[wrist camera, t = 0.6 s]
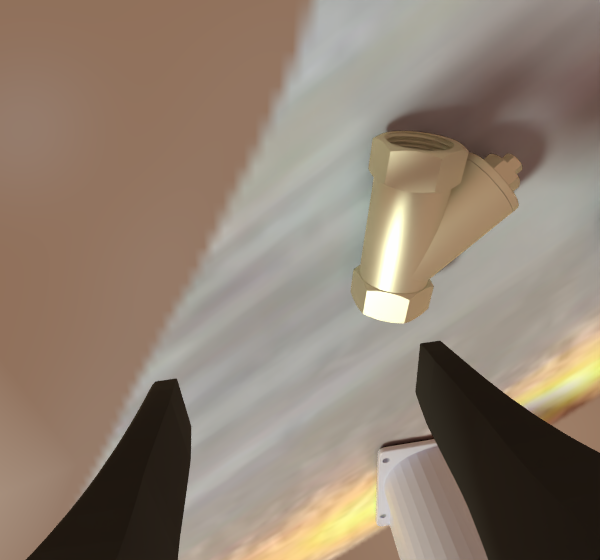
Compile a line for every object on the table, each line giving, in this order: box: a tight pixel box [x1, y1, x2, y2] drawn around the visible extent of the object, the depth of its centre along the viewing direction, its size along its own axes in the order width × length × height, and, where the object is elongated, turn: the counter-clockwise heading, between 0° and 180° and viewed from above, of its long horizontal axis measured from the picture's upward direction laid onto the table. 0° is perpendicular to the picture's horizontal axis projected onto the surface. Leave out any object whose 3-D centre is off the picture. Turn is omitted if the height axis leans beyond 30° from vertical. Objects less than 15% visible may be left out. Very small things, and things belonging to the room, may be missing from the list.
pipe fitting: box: [351, 131, 522, 323], centre depth 21 cm, size 8×4×7 cm
